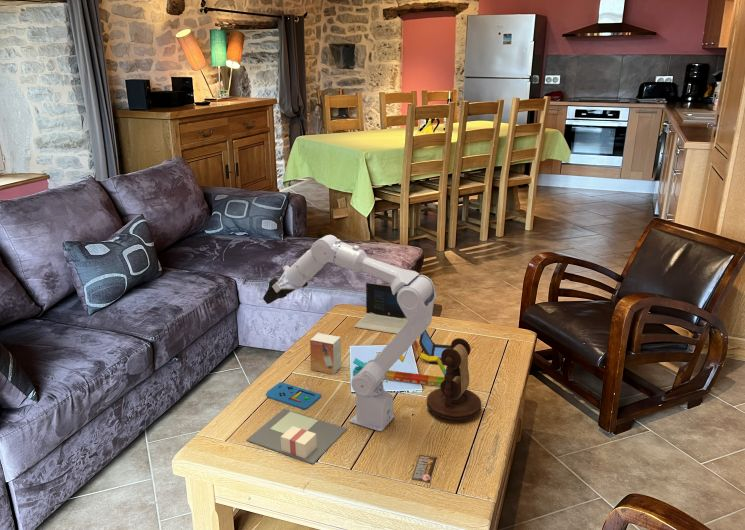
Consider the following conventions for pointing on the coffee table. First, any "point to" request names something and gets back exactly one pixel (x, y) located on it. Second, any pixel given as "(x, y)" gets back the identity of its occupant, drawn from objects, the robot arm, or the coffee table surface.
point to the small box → (325, 353)
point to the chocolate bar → (424, 468)
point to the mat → (286, 419)
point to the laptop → (382, 310)
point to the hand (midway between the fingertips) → (274, 296)
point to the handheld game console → (431, 347)
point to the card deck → (298, 442)
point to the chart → (409, 376)
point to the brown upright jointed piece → (455, 386)
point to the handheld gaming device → (293, 395)
